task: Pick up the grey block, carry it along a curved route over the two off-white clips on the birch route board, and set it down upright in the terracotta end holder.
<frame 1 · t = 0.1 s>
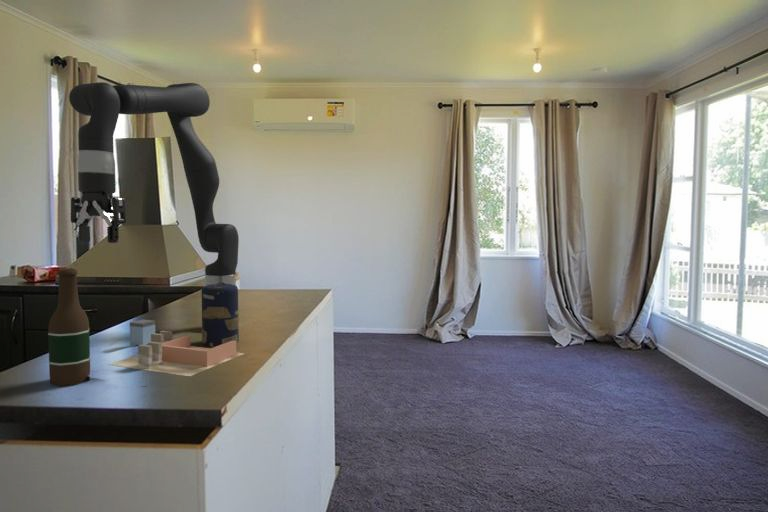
hand: (98, 242, 119), 29 cm above the table, fingers open, 8 cm apart
grey block: (143, 347, 138), on the table
end holder: (197, 356, 125), resting on route board
route board: (179, 363, 123), on the table
canister: (220, 347, 139), on the table
beer bottle: (70, 381, 109), on the table
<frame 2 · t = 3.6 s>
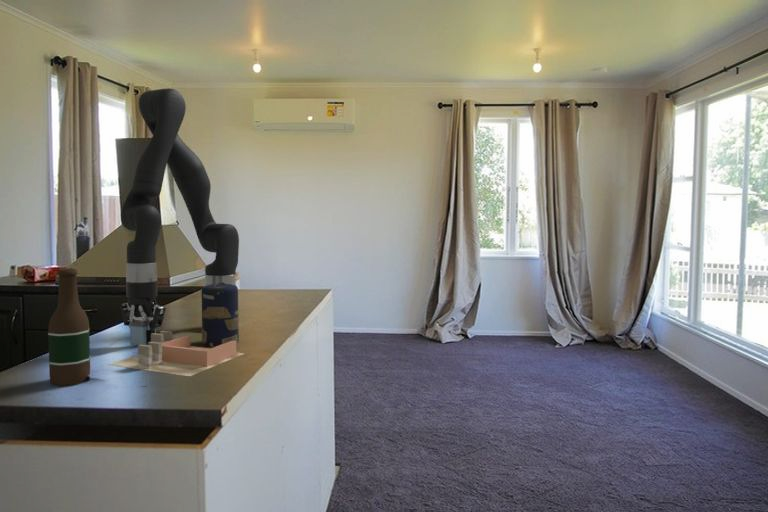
hand: (143, 342, 138), 1 cm above the table, fingers closed on grey block, 4 cm apart
grey block: (143, 347, 138), on the table, touching gripper
everything else where it was.
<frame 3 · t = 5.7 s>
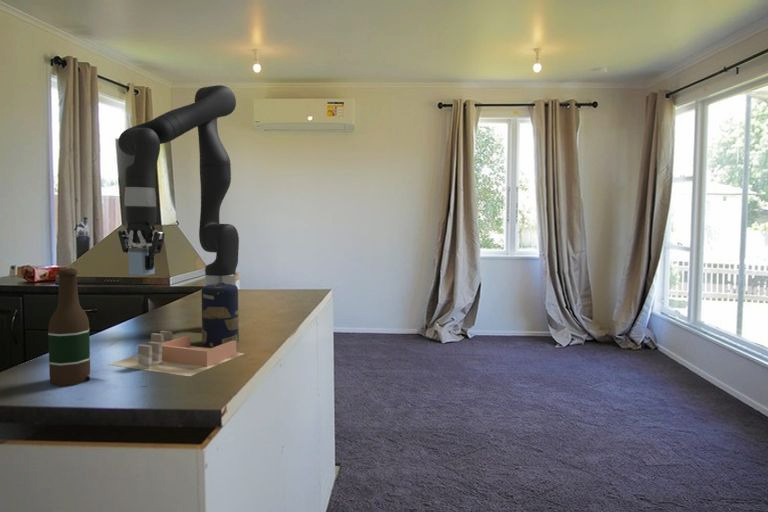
hand: (141, 269, 136), 21 cm above the table, fingers closed on grey block, 4 cm apart
grey block: (141, 274, 136), point 20 cm above the table, touching gripper
everything else where it was.
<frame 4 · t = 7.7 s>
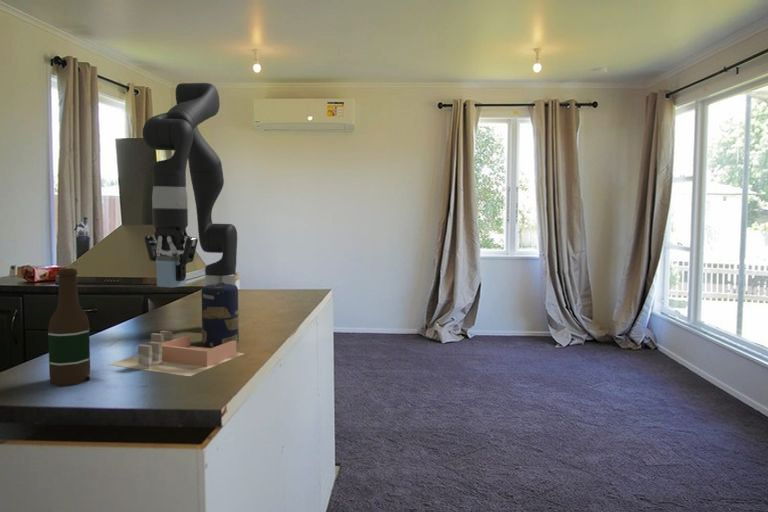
hand: (171, 279, 119), 21 cm above the table, fingers closed on grey block, 4 cm apart
grey block: (171, 285, 119), point 19 cm above the table, touching gripper
everything else where it was.
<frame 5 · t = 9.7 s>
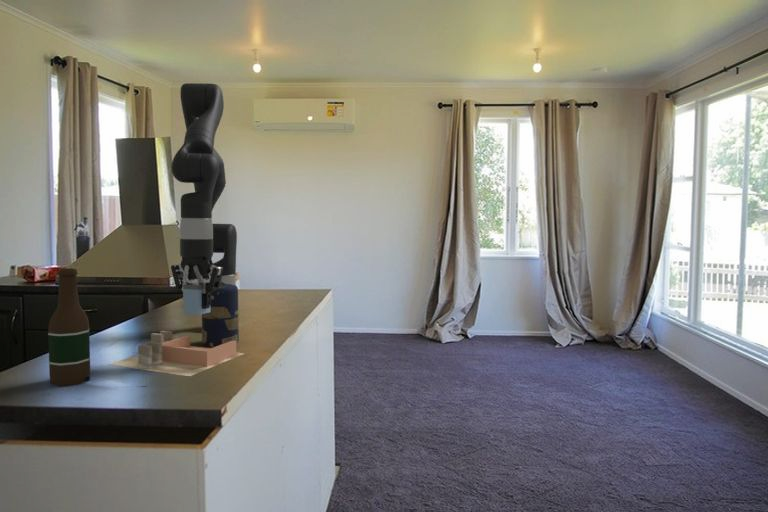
hand: (197, 307, 124), 13 cm above the table, fingers closed on grey block, 4 cm apart
grey block: (197, 312, 124), point 12 cm above the table, touching gripper
everything else where it was.
when the fingers open (5 cm above the table, at t = 11.7 s): grey block drops 1 cm, resting on end holder.
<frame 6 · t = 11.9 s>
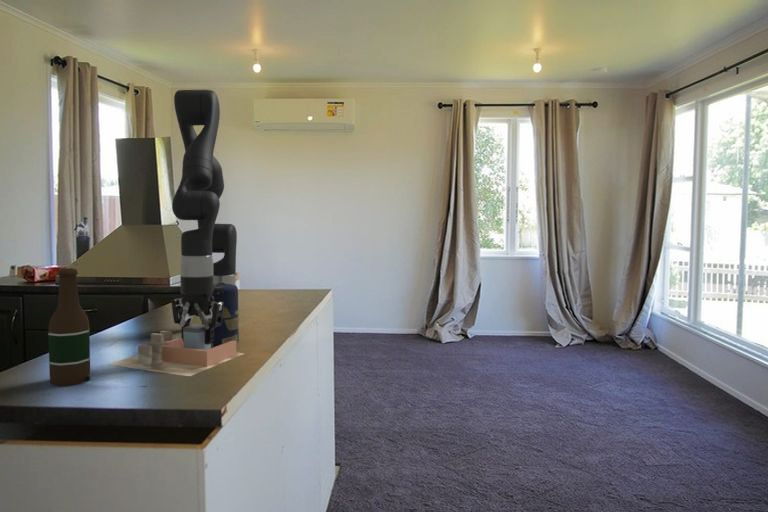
hand: (197, 342, 124), 5 cm above the table, fingers open, 6 cm apart
grey block: (197, 354, 124), point 2 cm above the table, touching end holder
everything else where it was.
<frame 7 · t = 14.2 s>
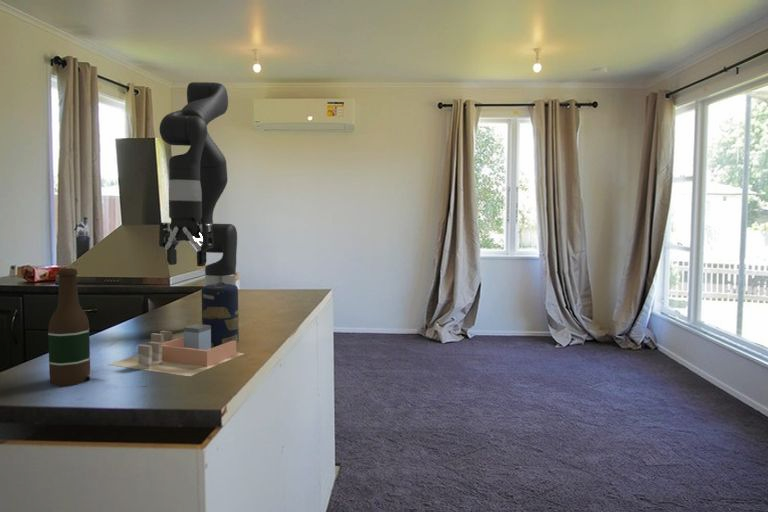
hand: (186, 265, 126), 23 cm above the table, fingers open, 8 cm apart
nothing on the table moved.
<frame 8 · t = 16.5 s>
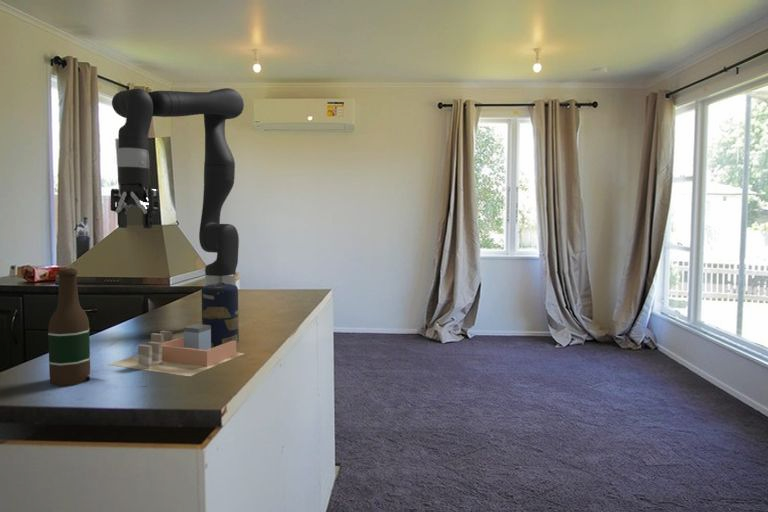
hand: (135, 228, 136), 32 cm above the table, fingers open, 8 cm apart
nothing on the table moved.
at the end: grey block inside the target area on the end holder (0.0 cm from its centre), point 0.6 cm above the end holder's base; grey block tilted 0°; the gripper is holding nothing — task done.
